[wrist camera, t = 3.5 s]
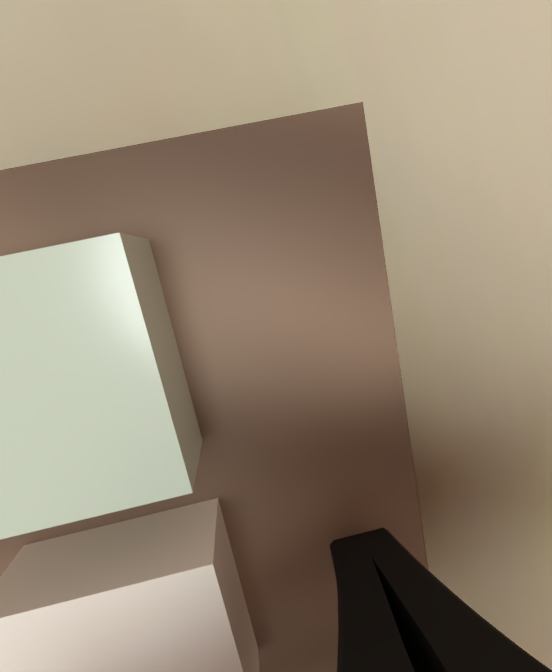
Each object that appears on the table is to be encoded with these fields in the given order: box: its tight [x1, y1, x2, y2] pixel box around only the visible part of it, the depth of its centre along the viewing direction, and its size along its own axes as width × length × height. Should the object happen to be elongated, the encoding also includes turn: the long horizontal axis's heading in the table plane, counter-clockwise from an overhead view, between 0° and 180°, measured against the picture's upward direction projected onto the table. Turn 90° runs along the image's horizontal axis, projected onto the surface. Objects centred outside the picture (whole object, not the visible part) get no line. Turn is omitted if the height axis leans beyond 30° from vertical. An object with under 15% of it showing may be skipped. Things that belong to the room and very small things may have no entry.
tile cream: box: [0, 498, 259, 672], centre depth 8 cm, size 4×4×2 cm
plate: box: [0, 102, 428, 672], centre depth 10 cm, size 14×14×2 cm
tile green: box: [0, 233, 203, 540], centre depth 7 cm, size 4×4×2 cm
